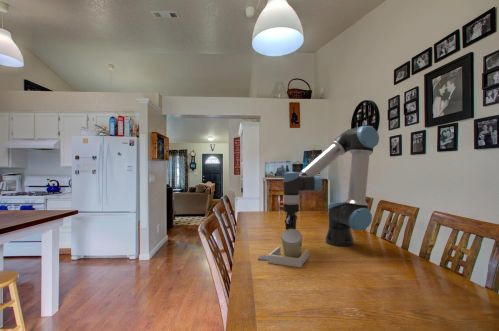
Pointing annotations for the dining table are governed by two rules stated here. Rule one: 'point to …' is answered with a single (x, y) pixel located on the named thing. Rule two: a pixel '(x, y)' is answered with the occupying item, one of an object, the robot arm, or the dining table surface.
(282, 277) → the dining table surface
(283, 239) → the coffee cup
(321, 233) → the dining table surface
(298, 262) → the frame
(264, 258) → the slate tile
